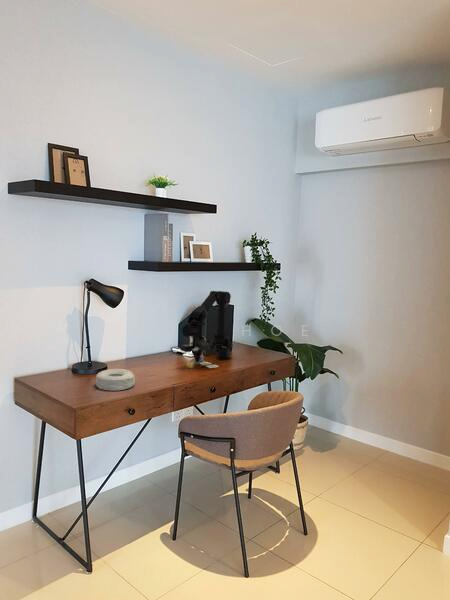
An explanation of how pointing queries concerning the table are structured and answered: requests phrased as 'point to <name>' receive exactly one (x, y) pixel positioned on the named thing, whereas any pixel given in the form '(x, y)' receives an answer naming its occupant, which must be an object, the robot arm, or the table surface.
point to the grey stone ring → (115, 379)
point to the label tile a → (205, 363)
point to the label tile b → (212, 366)
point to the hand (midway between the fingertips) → (197, 362)
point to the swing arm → (194, 362)
